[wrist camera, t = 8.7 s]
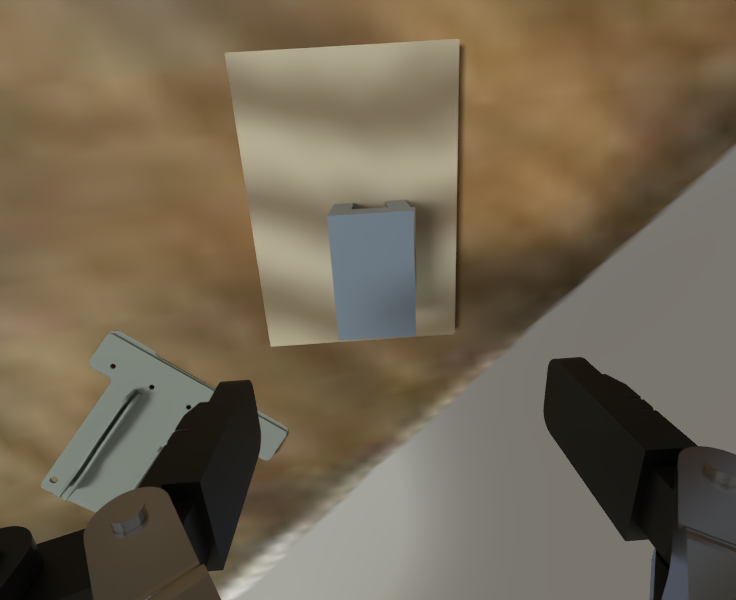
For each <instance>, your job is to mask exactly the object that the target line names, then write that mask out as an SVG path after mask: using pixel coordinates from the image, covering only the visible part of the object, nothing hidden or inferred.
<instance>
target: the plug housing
mask: <svg viewBox="0 0 736 600" xmlns="http://www.w3.org/2000/svg"><path fill="white" fill-rule="evenodd" d="M385 205H386V207H381V208H366V209H354V206H353V203H347V204H334V205H333V207H332V209H331V210H330V212H329V213H328V215H327V223H328V234H329V244H330V255H331V265H332V276H333V286H334V297H335V308H336V318H337V329H338V339H339V340H356V339H374V338H391V337H409V336H416V304H415V259H414V215H413V209H412V208H411V207H410V206H409V205H408V203H407V202H406V201H405V200H395V201H385Z"/></svg>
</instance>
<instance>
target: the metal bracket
mask: <svg viewBox="0 0 736 600" xmlns="http://www.w3.org/2000/svg"><path fill="white" fill-rule="evenodd" d="M111 364H115V365H116V368H112V367H111ZM89 366H90V367H91V368H93V369H95V370H96V371H98V372H100V373H102V374H104V375H106V376H108V377H109V378H110V379H111V383H110V385H109V386H108V388H107V389H106V390H105V392H104V393H103V395H102V396H101V398H100V399H99V401H98V402H97V403H96V405H95V406H94V408H93V409H92V411H91V412H90V414H89V415H88V416H87V418H86V419H85V421H84V422H83V424H82V425H81V426H80V428H79V429H78V431H77V432H76V434H75V435H74V437H73V438H72V439H71V441H70V442H69V444H68V445H67V447H66V448H65V450H64V451H63V452H62V454H61V455H60V457H59V458H58V460H57V461H56V463H55V464H54V465H53V467H52V468H51V470H50V471H49V473H48V474H47V476H46V477H45V478H44V480H43V481H42V483H41V487H42V488H43V489H45V490H47V491H49V492H51V493H53V494H56V495H57V497H59V498H60V497H62V498H64V499H63V500H65V501H66V500H69V501H71V502H73V503H76V504H78V505H80V506H82V507H84V508H87V509H89V510H91V511H93V512H97V511H98V510H99V509H100V508H101V507H103V506H104V505H105V504H106V503H108V502H109V501H111V500H112V499H114V498H115V497H117V496H119V495H121V494H123V493H126V492H128V491H131V490H134V489H137V488H138V486H139V485H140V483H141V482H142V480H143V479H144V477H145V475H146V474H147V472H148V471H149V469H150V468H151V466H152V464H153V463H154V461H155V460H156V458H157V457H158V455H159V453H160V452H161V450H162V449H163V447H164V446H165V445H167V441H168V439H169V438H170V436H171V435H172V433H173V432H175V428H176V427H177V425H178V424H179V422H180V421H181V419H182V418H183V416H184V415H185V414H186V413H187V412H189V411H190V410H191V409H192V408H193V407H195V406H196V405H197V404H198V403H200V402H209V400H210V398H211V396H212V395H213V393H214V391H215V390H216V389H215V388H213V387H211V386H209V385H207V384H206V383H204V382H202V381H200V380H199V379H197V378H195V377H193V376H192V375H190V374H188V373H186V372H184V371H183V370H181V369H179V368H177V367H176V366H174V365H172V364H170V363H168V362H167V361H165V360H163V359H161V358H160V357H158V356H157V355H156V352H155V351H153V350H151V349H150V348H148V347H146V346H144V345H143V344H141V343H139V342H137V341H136V340H134V339H132V338H131V337H129V336H127V335H125V334H124V333H122V332H120V331H111V332H110V333H109V334H108V335H107V336H106V337H105V339H104V340H103V342H102V343H101V345H100V346H99V348H98V349H97V350H96V352H95V353H94V355H93V356H92V358H91V359H90V360H89ZM150 385H154V387H155V388H154V389H151V388H150ZM187 405H190V406H191V409H187V407H186V406H187ZM257 411H258V410H257ZM258 417H259V422H260V428H261V447H260V452H259V456H258V457H259V458H261V459H263V460H269V459H271V457H272V456H273V454H274V453H275V451H276V450H277V449H278V447H279V446H280V444H281V443H282V441H283V440H284V438H285V437H286V435H287V433H288V428H287V427H286V426H284V425H282V424H280V423H279V422H277V421H275V420H273V419H272V418H270V417H268V416H266V415H265V414H263V413H261V412H259V411H258ZM53 476H54V477H57V479H58V481H57V482H53V481H51V477H53Z"/></svg>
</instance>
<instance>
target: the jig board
mask: <svg viewBox="0 0 736 600" xmlns="http://www.w3.org/2000/svg"><path fill="white" fill-rule="evenodd" d="M225 58H226V65H227V71H228V77H229V84H230V90H231V97H232V103H233V109H234V116H235V122H236V128H237V135H238V141H239V148H240V154H241V160H242V167H243V173H244V179H245V186H246V192H247V198H248V205H249V211H250V218H251V224H252V230H253V237H254V243H255V249H256V256H257V262H258V269H259V275H260V281H261V288H262V294H263V300H264V307H265V313H266V320H267V326H268V332H269V339H270V345H271V347H272V346H287V345H301V344H316V343H331V342H345V341H360V340H375V339H389V338H374V339H356V340H339V339H338V329H337V318H336V308H335V297H334V286H333V276H332V265H331V255H330V244H329V234H328V223H327V215H328V213H329V212H330V210H331V209H332V207H333V205H334V204H347V203H353V206H354V209H366V208H381V207H386V205H385V201H395V200H405V201H406V202H407V203H408V205H409V206H410V207H411V208H412V209H413V215H414V259H415V304H416V336H409V337H419V336H433V335H448V334H455V288H456V224H457V161H458V97H459V39H449V40H433V41H416V42H399V43H383V44H366V45H349V46H332V47H316V48H299V49H282V50H265V51H249V52H232V53H225ZM391 338H404V337H391Z"/></svg>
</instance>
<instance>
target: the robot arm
mask: <svg viewBox="0 0 736 600" xmlns="http://www.w3.org/2000/svg"><path fill="white" fill-rule="evenodd" d="M544 419H545V423H546V426H547V428H548V431H549V432H550V434H551V435H552V437H553V438H554V440H555V441H556V442H557V444H558V445H559V447H560V448H561V450H562V451H563V453H564V454H565V455H566V457H567V458H568V459H569V461H570V462H571V464H572V465H573V467H574V468H575V470H576V471H577V473H578V474H579V475H580V477H581V478H582V480H583V481H584V483H585V484H586V485H587V487H588V488H589V490H590V491H591V493H592V494H593V496H594V497H595V498H596V500H597V501H598V503H599V504H600V505H601V507H602V508H603V510H604V511H605V513H606V514H607V515H608V517H609V518H610V520H611V521H612V523H613V524H614V526H615V527H616V529H617V530H618V531H619V533H620V534H621V536H622V537H623V539H624V540H625V541H634V540H646V539H649V540H650V542H651V543H652V544H653V546H654V547H655V549H654V552H653V556H652V564H651V580H650V599H649V600H736V455H735V454H733V453H730V452H727V451H724V450H720V449H716V448H711V447H703V446H702V447H701V446H697V445H696V444H695V443H694V442H693V441H691V440H690V439H689V438H688V437H687V436H686V435H684V434H683V433H682V432H681V431H680V430H679V429H677V428H676V427H675V426H674V425H673V424H672V423H670V422H669V421H668V420H667V419H666V418H664V417H663V416H662V415H661V414H660V413H659V412H658V411H656V410H655V411H654V410H653V407H652V406H651V405H649V404H648V403H647V402H646V401H645V400H641V398H640V396H639V395H638V394H637V393H635V392H634V391H633V390H632V389H631V388H630V387H628V386H627V385H626V384H624V383H622V382H620V381H618V380H616V379H614V378H612V377H610V376H608V375H606V374H601V373H600V372H599V371H598V370H597V369H596V368H594V367H593V366H592V365H591V364H590V363H589V362H588V361H587V360H586V359H584V358H582V357H576V358H562V359H552V360H551V361H550V363H549V365H548V372H547V382H546V390H545V400H544ZM260 447H261V428H260V422H259V417H258V411H257V406H256V401H255V395H254V390H253V386H252V383H251V381H250V380H241V381H226V382H220V383H219V384H218V386H217V388H216V390H215V391H214V393H213V395H212V396H211V398H210V400H209V402H200V403H198V404H197V405H196V406H195V407H193V408H192V409H191V410H190V411H189V412H187V413H186V414H185V415H184V416H183V418H182V419H181V421H180V422H179V424H178V425H177V427H176V428H175V432H173V433H172V435H171V436H170V438H169V439H168V441H167V445H165V446H164V447H163V449H162V450H161V452H160V453H159V455H158V457H157V458H156V460H155V461H154V463H153V464H152V466H151V468H150V469H149V471H148V472H147V474H146V475H145V477H144V479H143V480H142V482H141V483H140V485H139V486H138V488H137V489H134V490H131V491H128V492H126V493H123V494H121V495H119V496H117V497H115V498H114V499H112V500H111V501H109V502H108V503H106V504H105V505H104V506H103V507H101V508H100V509H99V510H98V511H97V512H96V513H95V514H94V516H93V517H92V518H91V519H90V521H89V522H88V524H87V526H86V528H85V529H83V530H80V531H77V532H74V533H71V534H68V535H64V536H61V537H58V538H55V539H52V540H49V541H46V542H43V543H39V544H36V543H35V541H34V539H33V536H32V534H31V532H30V531H29V530H28V529H27V528H24V527H19V526H11V527H5V528H1V529H0V600H221V598H220V596H219V594H218V592H217V590H216V588H215V585H214V583H213V581H212V579H211V577H210V575H209V573H208V571H217V570H223V569H224V566H225V562H226V559H227V556H228V553H229V549H230V546H231V543H232V540H233V536H234V533H235V530H236V527H237V524H238V520H239V517H240V514H241V511H242V507H243V504H244V501H245V498H246V495H247V491H248V488H249V485H250V482H251V478H252V475H253V472H254V469H255V466H256V462H257V459H258V456H259V452H260Z"/></svg>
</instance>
